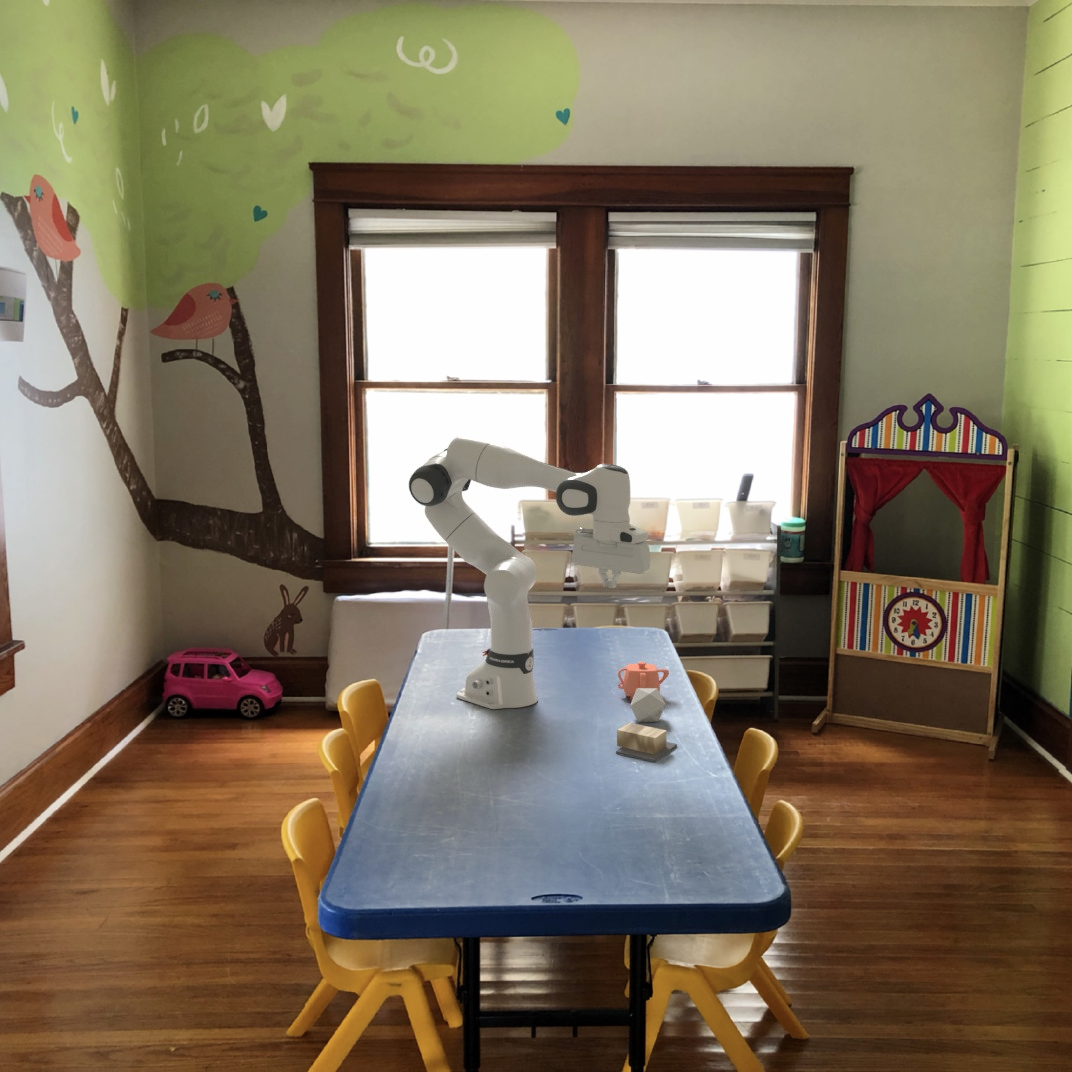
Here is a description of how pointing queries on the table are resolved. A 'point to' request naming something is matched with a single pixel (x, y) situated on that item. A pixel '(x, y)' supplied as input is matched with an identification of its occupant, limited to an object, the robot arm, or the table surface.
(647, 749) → the maple block
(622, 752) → the rubber mat
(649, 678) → the teapot
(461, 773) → the table surface
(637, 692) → the die
